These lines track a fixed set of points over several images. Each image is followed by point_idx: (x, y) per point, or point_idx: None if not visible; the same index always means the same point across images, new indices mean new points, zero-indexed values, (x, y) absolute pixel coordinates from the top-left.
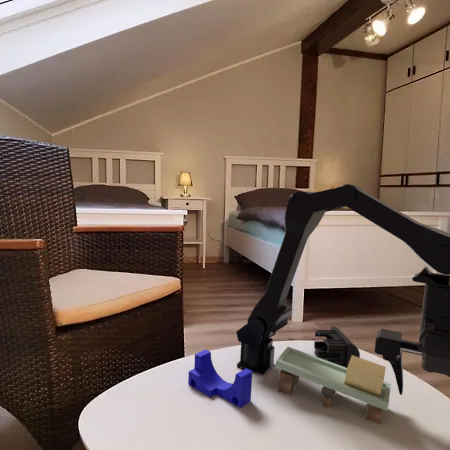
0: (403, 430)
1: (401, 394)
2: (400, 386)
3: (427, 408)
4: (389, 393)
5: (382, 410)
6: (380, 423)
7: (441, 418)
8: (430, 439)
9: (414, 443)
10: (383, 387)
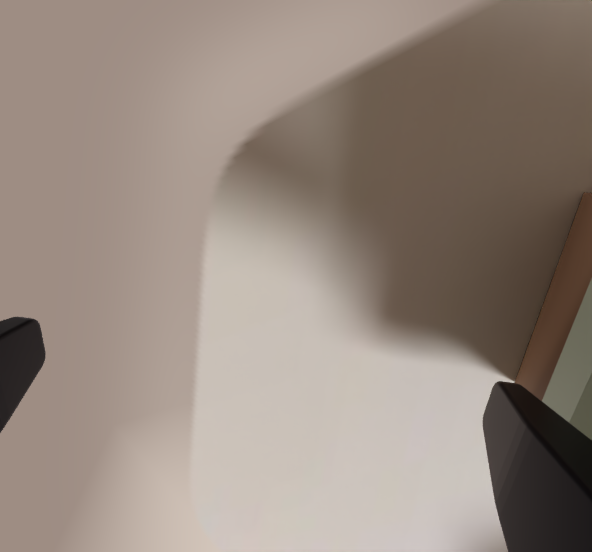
0: (438, 188)
1: (503, 382)
2: (559, 434)
3: (272, 437)
4: (585, 393)
5: (537, 332)
6: (585, 194)
7: (213, 381)
8: (287, 166)
9: (392, 72)
10: None
